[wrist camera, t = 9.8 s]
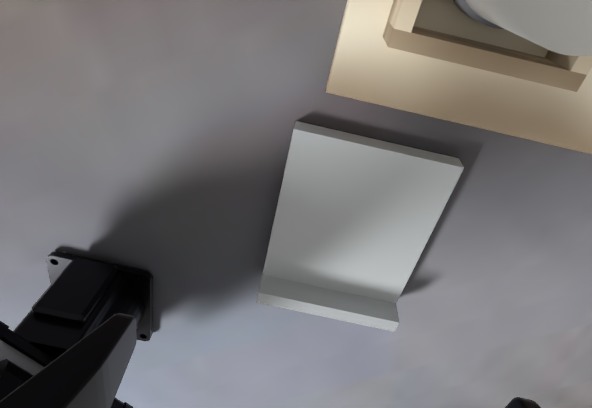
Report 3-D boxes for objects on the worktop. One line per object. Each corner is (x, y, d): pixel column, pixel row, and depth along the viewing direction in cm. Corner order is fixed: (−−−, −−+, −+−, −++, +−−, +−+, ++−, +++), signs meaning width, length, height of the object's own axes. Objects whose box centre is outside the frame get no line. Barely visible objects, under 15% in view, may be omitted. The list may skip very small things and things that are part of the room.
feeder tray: (389, 300, 24) (394, 331, 22) (263, 272, 24) (256, 302, 22) (458, 158, 19) (472, 183, 17) (295, 120, 19) (290, 141, 17)
